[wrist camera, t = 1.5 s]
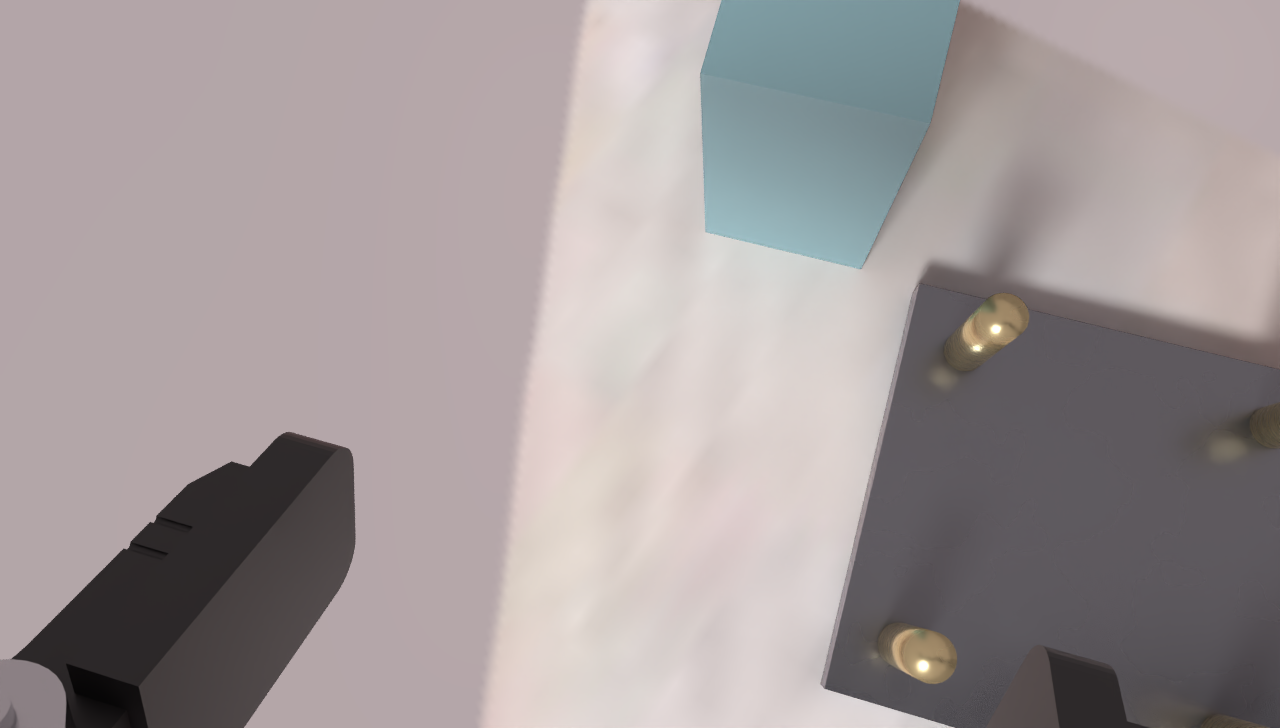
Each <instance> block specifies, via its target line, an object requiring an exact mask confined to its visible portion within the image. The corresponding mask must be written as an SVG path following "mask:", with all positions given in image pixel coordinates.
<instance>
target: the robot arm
mask: <svg viewBox="0 0 1280 728" xmlns="http://www.w3.org/2000/svg"><path fill="white" fill-rule="evenodd" d="M353 467H354V466H353V456H352V453H351V451H350V450H349V449H348V448H345V447H342V446H338V445H335V444H331V443H327V442H323V441H320V440H317V439H313V438H310V437H306V436H302V435H299V434H295V433H292V432H286V433H284V434H282V435H281V436H279V437H278V438H277V439H275V440H274V441H273V443H272V444H271V445H270V446H269V447H268V448H267V449H266V450H265V451H264V452H263V453H262V454H261V455H260V456H259V457H258V459H257V460H256V461H255V462H254V463H253V464H252V465H251V466H250V467H248V466H245V465H241V464H238V463H234V462H230V463H228V464H226V465H224V466H222V467H220V468H218V469H217V470H215V471H213V472H211V473H209V474H207V475H205V476H203V477H201V478H199V479H197V480H195V481H194V482H191V483H190V484H188V485H187V486H186V487H185V488H184V489H183V490H182V491H181V492H180V493H179V494H178V495H177V496H176V497H175V498H174V499H173V500H172V501H171V502H170V503H169V504H168V505H167V506H166V507H165V508H164V509H163V510H162V511H161V512H160V513H159V514H158V515H157V517H156V520H155V522H154V523H151V522H150V523H149V524H148V525H147V526H146V527H145V528H144V529H143V530H142V531H141V532H140V533H139V534H138V535H137V536H136V537H135V538H134V539H133V540H132V541H131V543H130V547H129V548H128V549H127V550H126V549H123V550H122V551H121V552H120V553H119V554H118V555H117V556H116V557H115V558H114V559H113V560H112V561H111V562H110V563H109V564H108V565H107V566H106V567H105V568H104V569H103V570H102V571H101V572H100V573H99V574H98V575H97V576H96V577H95V578H94V579H93V580H92V581H91V582H90V583H89V584H88V585H87V586H86V587H85V588H84V589H83V590H82V591H81V592H80V593H79V594H78V595H77V596H76V597H75V598H74V599H73V600H72V601H71V602H70V603H69V604H68V605H67V606H66V607H65V608H64V609H63V610H62V611H61V612H60V613H59V614H58V615H57V616H56V617H55V618H54V619H53V620H52V621H51V622H50V623H49V624H48V625H47V626H46V627H45V628H44V629H43V630H42V631H41V632H40V633H39V634H38V635H37V636H36V637H35V638H34V639H33V640H32V641H31V642H30V643H29V644H28V645H27V646H26V647H25V648H24V649H22V650H21V651H20V652H19V653H18V654H17V655H16V656H14V657H13V658H12V659H10V660H0V728H244V726H245V725H246V724H247V722H248V721H249V719H250V718H251V716H252V715H253V714H254V712H255V711H256V709H257V708H258V706H259V705H260V704H261V702H262V701H263V699H264V698H265V696H266V695H267V693H268V692H269V690H270V689H271V688H272V686H273V685H274V683H275V682H276V680H277V679H278V677H279V676H280V674H281V673H282V672H283V670H284V669H285V667H286V666H287V664H288V663H289V661H290V660H291V659H292V657H293V656H294V654H295V653H296V651H297V650H298V649H299V647H300V645H301V644H302V643H303V641H304V640H305V638H306V637H307V635H308V634H309V632H310V631H311V630H312V628H313V627H314V625H315V624H316V622H317V621H318V619H319V618H320V616H321V615H322V614H323V612H324V611H325V609H326V608H327V607H328V605H329V604H330V602H331V601H332V599H333V598H334V596H335V595H336V593H337V592H338V590H339V589H340V587H341V585H342V583H343V582H344V579H345V577H346V575H347V573H348V570H349V567H350V564H351V561H352V558H353V554H354V548H355V503H354V468H353ZM986 728H1149V727H1146V726H1142V725H1139V724H1135V723H1132V722H1128V721H1127V718H1126V714H1125V709H1124V705H1123V700H1122V696H1121V691H1120V687H1119V682H1118V679H1117V675H1116V673H1115V671H1114V669H1113V668H1112V667H1111V666H1110V665H1109V664H1106V663H1102V662H1099V661H1095V660H1092V659H1088V658H1085V657H1081V656H1077V655H1074V654H1070V653H1067V652H1063V651H1060V650H1056V649H1053V648H1049V647H1045V646H1042V645H1036V646H1035V647H1033V648H1032V649H1031V650H1030V651H1029V653H1028V654H1027V656H1026V658H1025V659H1024V661H1023V663H1022V665H1021V666H1020V668H1019V670H1018V672H1017V673H1016V675H1015V677H1014V679H1013V681H1012V682H1011V684H1010V686H1009V688H1008V689H1007V691H1006V693H1005V695H1004V696H1003V698H1002V700H1001V702H1000V703H999V705H998V707H997V709H996V710H995V712H994V714H993V716H992V717H991V719H990V721H989V723H988V725H987V727H986Z"/></svg>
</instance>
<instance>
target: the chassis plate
mask: <svg viewBox="0 0 1280 728" xmlns="http://www.w3.org/2000/svg"><path fill="white" fill-rule="evenodd" d="M1036 645H1042V646H1045V647H1049V648H1053V649H1056V650H1060V651H1063V652H1067V653H1070V654H1074V655H1077V656H1081V657H1085V658H1088V659H1092V660H1095V661H1099V662H1102V663H1106V664H1109V665H1110V666H1111V667H1112V668H1113V669H1114V671H1115V673H1116V675H1117V679H1118V682H1119V687H1120V691H1121V696H1122V700H1123V705H1124V709H1125V714H1126V718H1127V721H1128V722H1132V723H1135V724H1139V725H1142V726H1146V727H1149V728H1280V370H1279V369H1275V368H1271V367H1267V366H1262V365H1258V364H1254V363H1250V362H1246V361H1242V360H1237V359H1233V358H1229V357H1225V356H1221V355H1217V354H1212V353H1208V352H1204V351H1200V350H1196V349H1191V348H1187V347H1183V346H1179V345H1175V344H1171V343H1166V342H1162V341H1158V340H1154V339H1150V338H1146V337H1141V336H1137V335H1133V334H1129V333H1125V332H1121V331H1116V330H1112V329H1108V328H1104V327H1100V326H1096V325H1091V324H1087V323H1083V322H1079V321H1075V320H1071V319H1066V318H1062V317H1058V316H1054V315H1050V314H1045V313H1041V312H1037V311H1033V310H1029V309H1027V307H1026V305H1025V303H1024V302H1023V301H1022V300H1021V299H1020V298H1018V297H1017V296H1015V295H1012V294H1009V293H998V294H995V295H992V296H991V297H989V298H988V299H983V298H979V297H975V296H970V295H966V294H962V293H958V292H954V291H950V290H945V289H941V288H937V287H933V286H929V285H924V284H920V283H919V285H918V286H917V288H916V289H915V290H914V292H913V294H912V298H911V303H910V307H909V311H908V315H907V320H906V324H905V328H904V332H903V337H902V341H901V345H900V349H899V354H898V358H897V362H896V366H895V371H894V375H893V379H892V383H891V388H890V392H889V396H888V400H887V405H886V409H885V413H884V417H883V422H882V426H881V430H880V434H879V439H878V443H877V447H876V451H875V456H874V460H873V464H872V468H871V473H870V477H869V481H868V485H867V490H866V494H865V498H864V502H863V507H862V511H861V515H860V519H859V524H858V528H857V532H856V536H855V540H854V545H853V549H852V553H851V557H850V562H849V566H848V570H847V574H846V579H845V583H844V587H843V591H842V596H841V600H840V604H839V608H838V613H837V617H836V621H835V625H834V630H833V634H832V638H831V642H830V647H829V651H828V655H827V659H826V664H825V668H824V672H823V676H822V681H821V685H822V686H823V688H824V689H828V690H831V691H834V692H838V693H841V694H844V695H848V696H851V697H854V698H858V699H861V700H864V701H868V702H871V703H874V704H878V705H881V706H885V707H888V708H891V709H895V710H898V711H901V712H905V713H908V714H911V715H915V716H918V717H921V718H925V719H928V720H931V721H935V722H938V723H941V724H945V725H948V726H952V727H955V728H986V727H987V725H988V723H989V721H990V719H991V717H992V716H993V714H994V712H995V710H996V709H997V707H998V705H999V703H1000V702H1001V700H1002V698H1003V696H1004V695H1005V693H1006V691H1007V689H1008V688H1009V686H1010V684H1011V682H1012V681H1013V679H1014V677H1015V675H1016V673H1017V672H1018V670H1019V668H1020V666H1021V665H1022V663H1023V661H1024V659H1025V658H1026V656H1027V654H1028V653H1029V651H1030V650H1031V649H1032V648H1033V647H1035V646H1036Z"/></svg>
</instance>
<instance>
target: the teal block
mask: <svg viewBox="0 0 1280 728" xmlns="http://www.w3.org/2000/svg"><path fill="white" fill-rule="evenodd" d="M959 2H960V0H722V1H721V4H720V8H719V11H718V15H717V18H716V21H715V25H714V28H713V32H712V35H711V38H710V42H709V45H708V49H707V52H706V56H705V59H704V62H703V66H702V69H701V73H700V78H701V109H702V139H703V169H704V199H705V229H706V232H708V233H712V234H716V235H720V236H724V237H729V238H733V239H737V240H741V241H745V242H750V243H754V244H758V245H762V246H766V247H770V248H775V249H779V250H783V251H787V252H791V253H795V254H800V255H804V256H808V257H812V258H816V259H820V260H825V261H829V262H833V263H837V264H841V265H845V266H850V267H854V268H858V269H861V268H862V266H863V264H864V262H865V260H866V258H867V255H868V253H869V251H870V249H871V247H872V245H873V243H874V241H875V239H876V237H877V234H878V232H879V230H880V228H881V226H882V224H883V222H884V220H885V218H886V216H887V213H888V211H889V209H890V207H891V205H892V203H893V201H894V199H895V197H896V195H897V192H898V190H899V188H900V186H901V184H902V182H903V180H904V178H905V176H906V174H907V171H908V169H909V167H910V165H911V163H912V161H913V159H914V157H915V155H916V153H917V150H918V148H919V146H920V144H921V142H922V140H923V138H924V136H925V134H926V132H927V129H928V127H929V125H930V123H931V119H932V115H933V110H934V106H935V102H936V98H937V94H938V90H939V86H940V81H941V77H942V73H943V69H944V65H945V61H946V56H947V52H948V48H949V44H950V40H951V36H952V31H953V27H954V23H955V19H956V15H957V11H958V6H959Z"/></svg>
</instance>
